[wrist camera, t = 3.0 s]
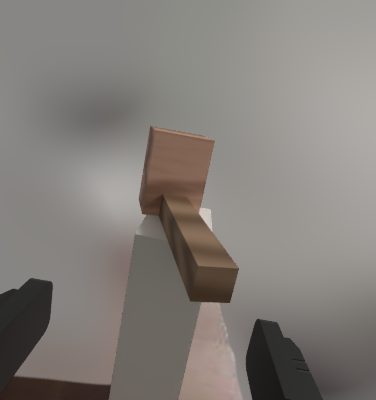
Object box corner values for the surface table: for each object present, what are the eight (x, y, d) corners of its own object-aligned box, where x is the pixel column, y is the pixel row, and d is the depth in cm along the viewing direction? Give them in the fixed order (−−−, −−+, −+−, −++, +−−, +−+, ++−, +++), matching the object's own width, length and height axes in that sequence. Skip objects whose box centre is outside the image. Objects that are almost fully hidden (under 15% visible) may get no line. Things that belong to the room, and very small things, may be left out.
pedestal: (161, 478, 39) (215, 251, 30) (96, 465, 39) (132, 234, 30) (172, 382, 52) (212, 209, 44) (125, 373, 52) (155, 198, 44)
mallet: (254, 303, 22) (292, 172, 20) (162, 300, 21) (190, 155, 18) (187, 204, 44) (201, 135, 41) (138, 199, 42) (150, 125, 39)
